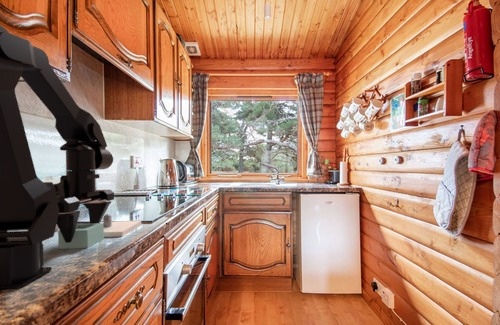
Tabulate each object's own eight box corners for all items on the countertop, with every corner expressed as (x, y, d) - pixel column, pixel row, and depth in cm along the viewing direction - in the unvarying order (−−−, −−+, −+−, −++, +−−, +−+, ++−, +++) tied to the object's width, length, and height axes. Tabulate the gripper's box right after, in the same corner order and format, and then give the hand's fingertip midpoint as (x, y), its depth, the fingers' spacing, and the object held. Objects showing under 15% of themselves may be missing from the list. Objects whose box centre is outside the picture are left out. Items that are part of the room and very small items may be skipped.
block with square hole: (87, 247, 55) (87, 230, 55) (58, 248, 55) (58, 230, 55) (103, 239, 61) (103, 223, 61) (77, 239, 61) (77, 223, 61)
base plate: (122, 236, 63) (122, 218, 63) (67, 237, 63) (66, 219, 63) (141, 224, 75) (141, 209, 75) (94, 225, 75) (94, 210, 75)
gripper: (73, 170, 67) (74, 226, 67) (8, 172, 48) (9, 251, 48) (114, 169, 67) (115, 225, 67) (66, 171, 49) (67, 249, 49)
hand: (82, 236), depth 58 cm, fingers open, 9 cm apart
